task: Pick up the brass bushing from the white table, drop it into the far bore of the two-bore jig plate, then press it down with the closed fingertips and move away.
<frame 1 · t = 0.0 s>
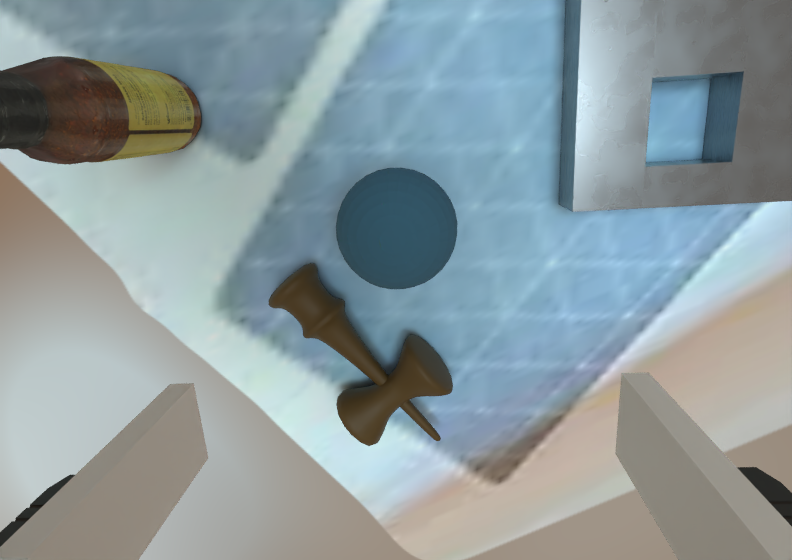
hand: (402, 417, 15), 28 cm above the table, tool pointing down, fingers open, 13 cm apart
kendama: (369, 348, 46), on the table
jig: (673, 37, 36), on the table
light bulb: (402, 212, 41), on the table
sauce bottle: (169, 116, 40), on the table
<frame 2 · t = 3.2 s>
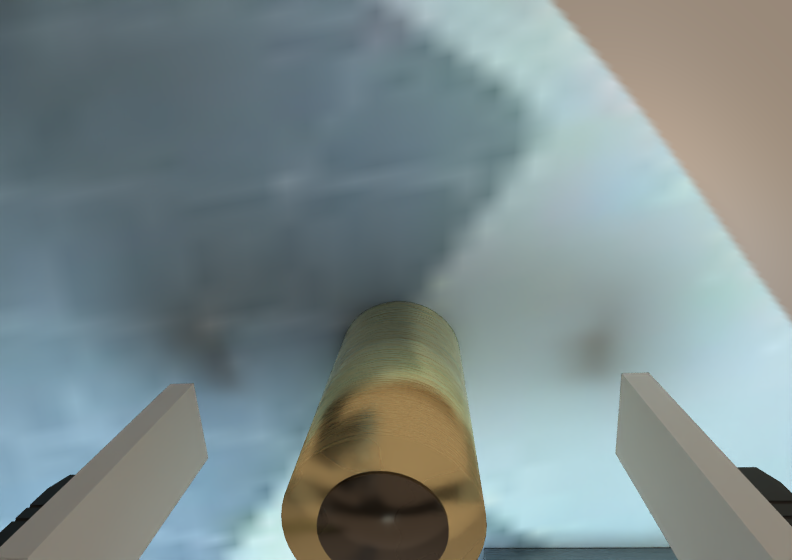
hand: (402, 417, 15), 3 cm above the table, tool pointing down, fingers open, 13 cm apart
bushing: (400, 357, 18), on the table
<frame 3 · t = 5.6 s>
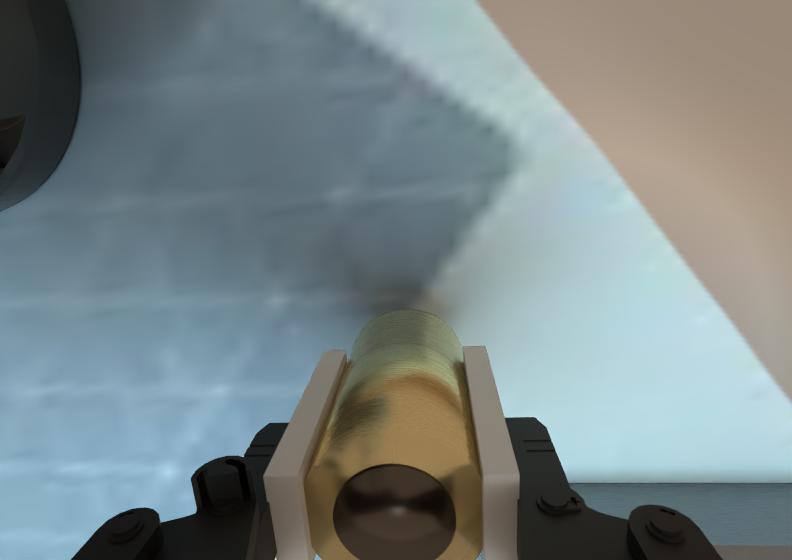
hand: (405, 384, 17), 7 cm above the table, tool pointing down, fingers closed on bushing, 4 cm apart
bushing: (407, 362, 19), point 5 cm above the table, touching gripper
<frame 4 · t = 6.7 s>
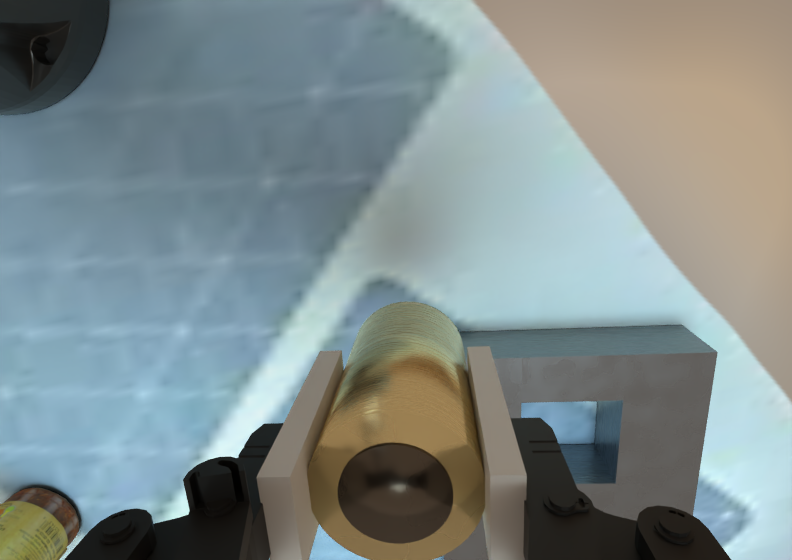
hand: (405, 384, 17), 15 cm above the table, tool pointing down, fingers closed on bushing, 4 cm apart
bushing: (408, 353, 19), point 12 cm above the table, touching gripper
jig: (550, 479, 36), on the table
sauce bottle: (48, 513, 40), on the table
when the fingers open (5 cm above the table, at t = 10.6 s): bushing drops 3 cm, resting in jig.
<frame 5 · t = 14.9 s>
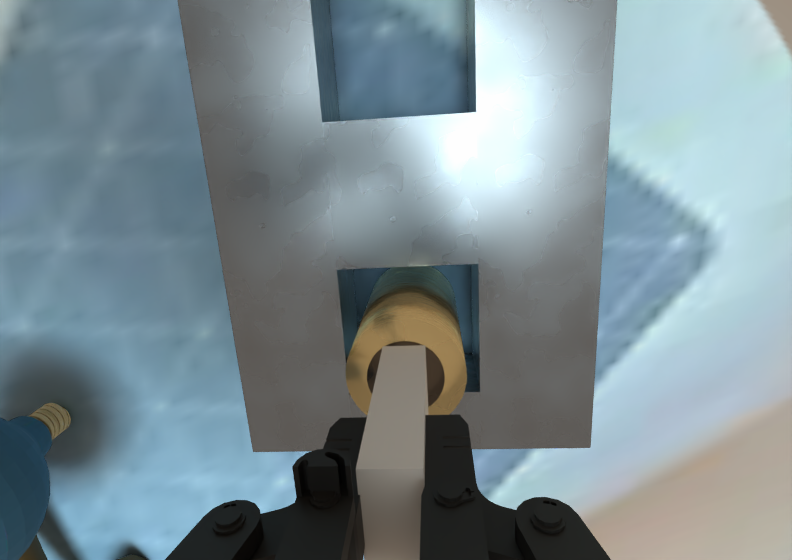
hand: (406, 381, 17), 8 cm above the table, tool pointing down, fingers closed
bushing: (412, 303, 25), resting in jig, touching gripper
kendama: (74, 544, 32), on the table
jig: (406, 185, 23), on the table
light bulb: (64, 410, 29), on the table
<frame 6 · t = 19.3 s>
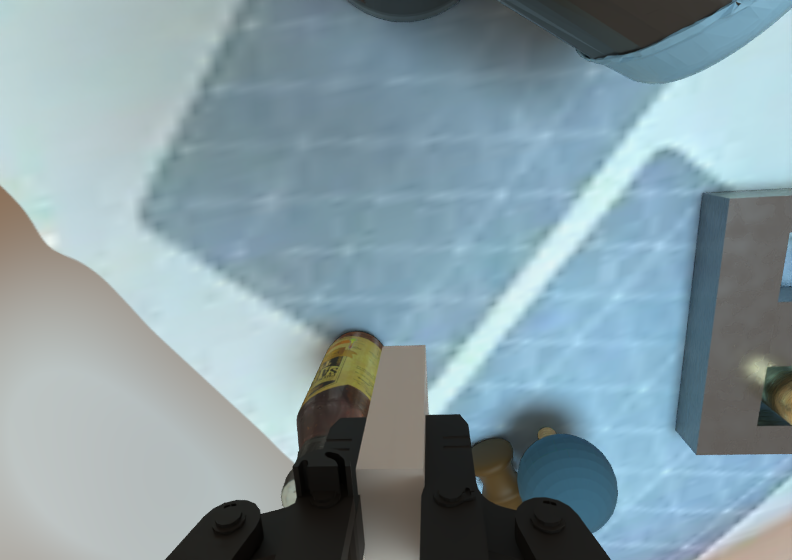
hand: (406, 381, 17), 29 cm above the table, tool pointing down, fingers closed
bushing: (766, 375, 47), resting in jig
kendama: (517, 506, 54), on the table
jig: (777, 317, 45), on the table
light bulb: (545, 430, 51), on the table
sauce bottle: (357, 357, 50), on the table
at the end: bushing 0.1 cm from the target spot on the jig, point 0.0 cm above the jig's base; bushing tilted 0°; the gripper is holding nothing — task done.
